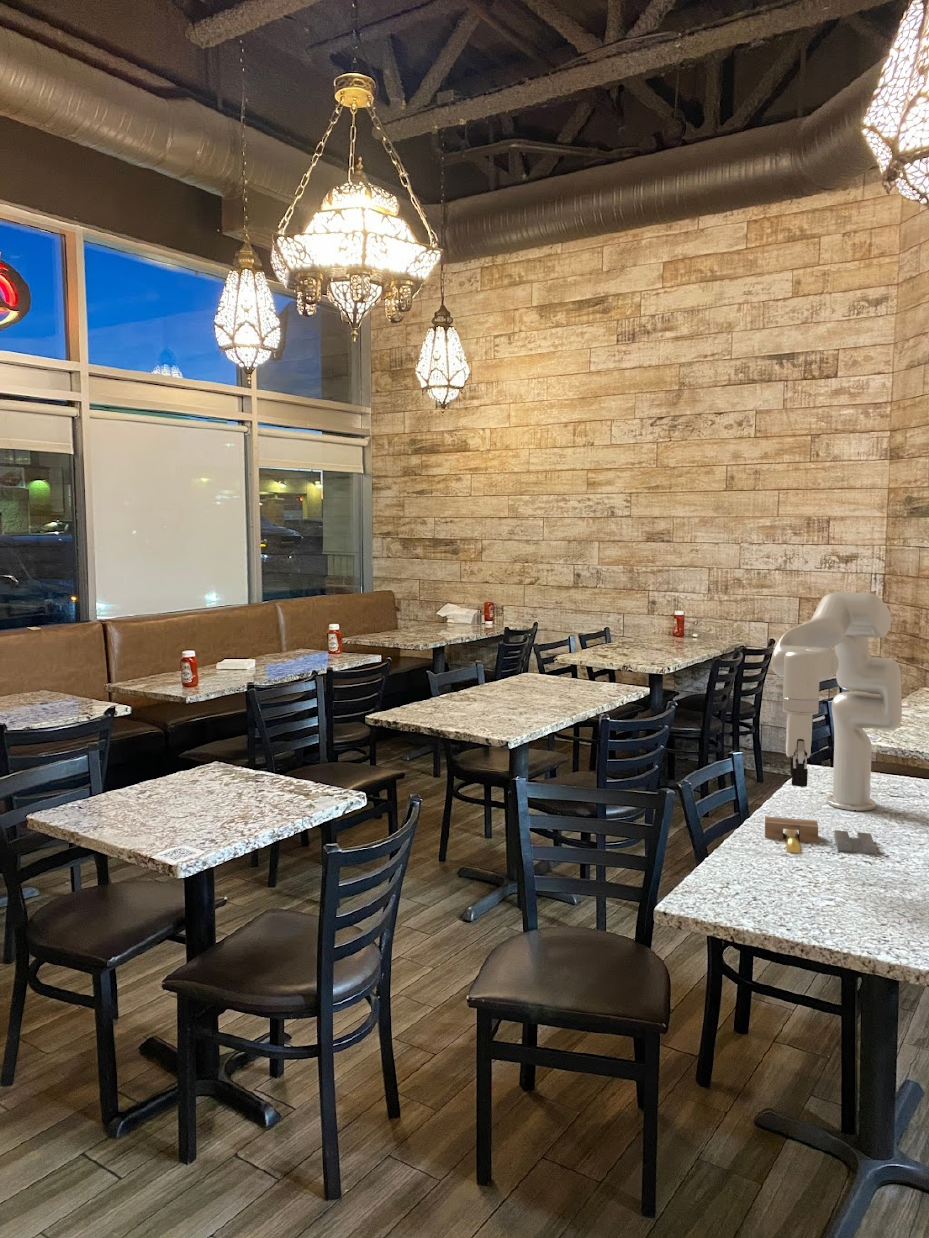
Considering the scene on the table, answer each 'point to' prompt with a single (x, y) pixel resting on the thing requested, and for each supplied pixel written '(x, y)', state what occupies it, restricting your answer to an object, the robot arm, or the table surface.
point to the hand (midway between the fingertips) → (798, 780)
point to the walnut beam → (805, 827)
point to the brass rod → (792, 841)
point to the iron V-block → (855, 843)
